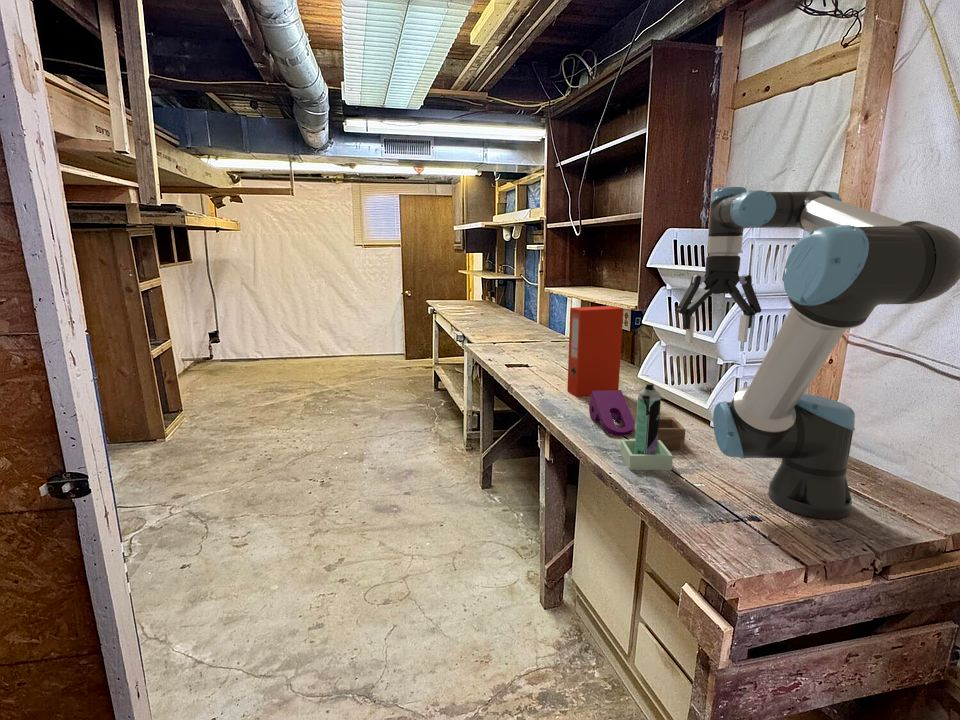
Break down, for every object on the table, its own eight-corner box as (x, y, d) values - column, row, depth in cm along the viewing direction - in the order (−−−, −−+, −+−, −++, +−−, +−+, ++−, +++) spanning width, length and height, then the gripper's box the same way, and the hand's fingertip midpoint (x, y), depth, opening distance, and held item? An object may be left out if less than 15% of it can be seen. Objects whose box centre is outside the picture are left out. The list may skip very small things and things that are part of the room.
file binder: (618, 393, 192) (623, 308, 185) (577, 397, 187) (580, 310, 180) (607, 387, 200) (611, 305, 193) (567, 391, 195) (569, 307, 188)
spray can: (657, 463, 129) (663, 387, 125) (635, 462, 130) (640, 386, 126) (654, 455, 134) (660, 381, 130) (633, 453, 136) (637, 380, 131)
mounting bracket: (632, 450, 154) (616, 409, 168) (638, 431, 149) (621, 389, 163) (601, 452, 154) (587, 409, 168) (607, 432, 148) (592, 390, 162)
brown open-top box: (683, 450, 139) (685, 429, 138) (650, 449, 140) (651, 429, 138) (669, 434, 151) (671, 414, 150) (638, 433, 152) (640, 414, 150)
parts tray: (671, 470, 127) (672, 455, 127) (629, 469, 128) (630, 455, 127) (659, 453, 138) (660, 440, 137) (619, 453, 138) (620, 439, 137)
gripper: (765, 254, 128) (755, 338, 132) (666, 255, 127) (660, 339, 132) (783, 254, 121) (773, 343, 125) (679, 255, 120) (672, 344, 124)
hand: (715, 341), depth 128 cm, fingers open, 13 cm apart
